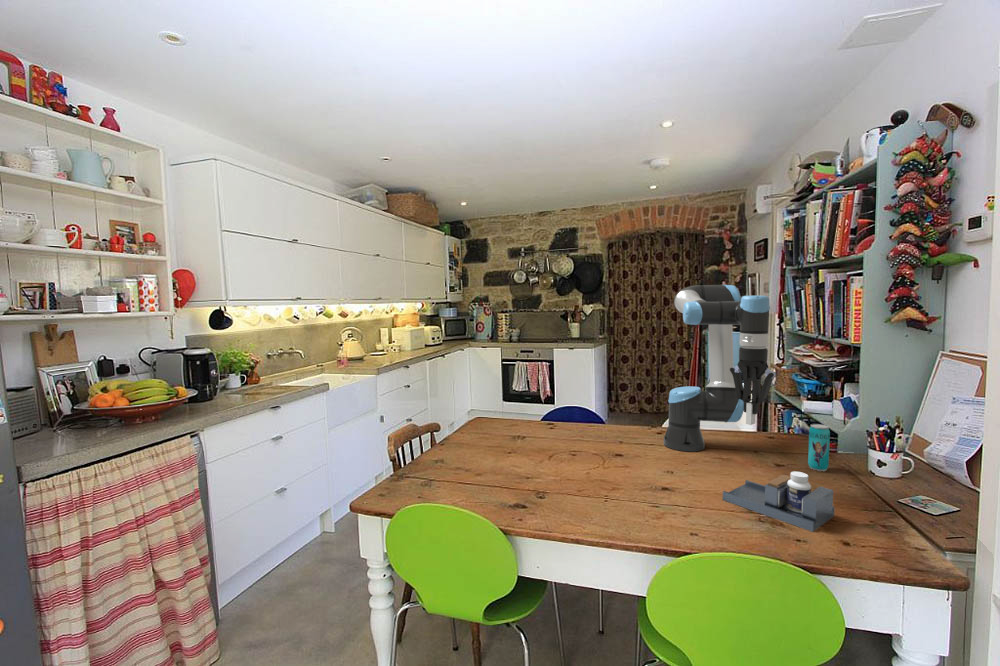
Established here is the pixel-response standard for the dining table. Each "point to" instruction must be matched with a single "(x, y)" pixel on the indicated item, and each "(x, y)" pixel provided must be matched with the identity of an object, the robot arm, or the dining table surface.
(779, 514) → the vise bed
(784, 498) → the sliding jaw
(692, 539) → the dining table surface
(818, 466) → the beverage can
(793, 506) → the pill bottle
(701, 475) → the dining table surface
